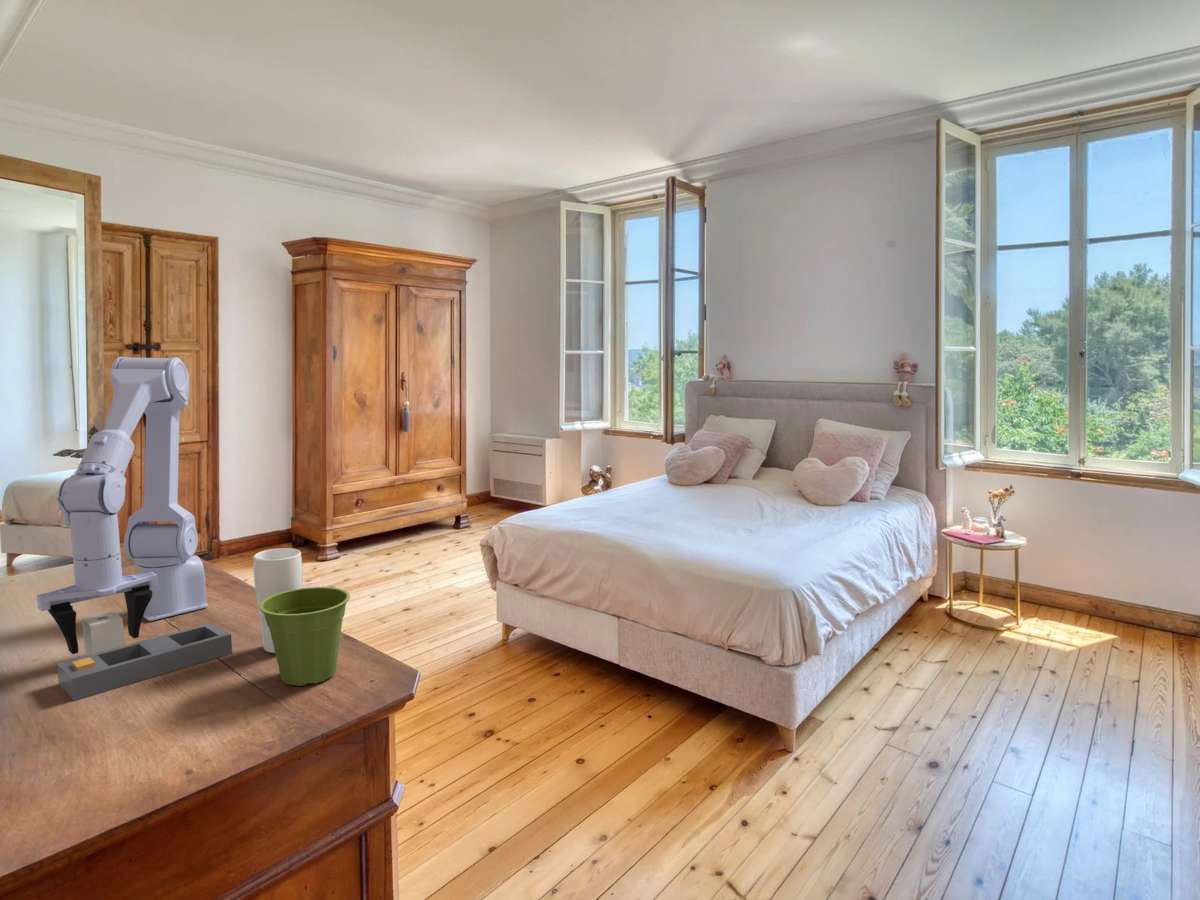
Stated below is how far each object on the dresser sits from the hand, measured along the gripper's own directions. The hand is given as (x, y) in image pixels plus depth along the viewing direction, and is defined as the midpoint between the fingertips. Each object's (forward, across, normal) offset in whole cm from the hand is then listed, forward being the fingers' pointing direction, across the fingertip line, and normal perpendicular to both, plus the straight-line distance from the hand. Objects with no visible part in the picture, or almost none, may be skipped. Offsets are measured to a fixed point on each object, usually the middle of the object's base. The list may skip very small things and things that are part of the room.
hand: (104, 643), depth 106 cm
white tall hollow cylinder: (+2, +19, -16) cm, 25 cm away
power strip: (+2, +3, -9) cm, 10 cm away
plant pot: (+2, +17, -28) cm, 33 cm away
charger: (+2, 0, 0) cm, 2 cm away
